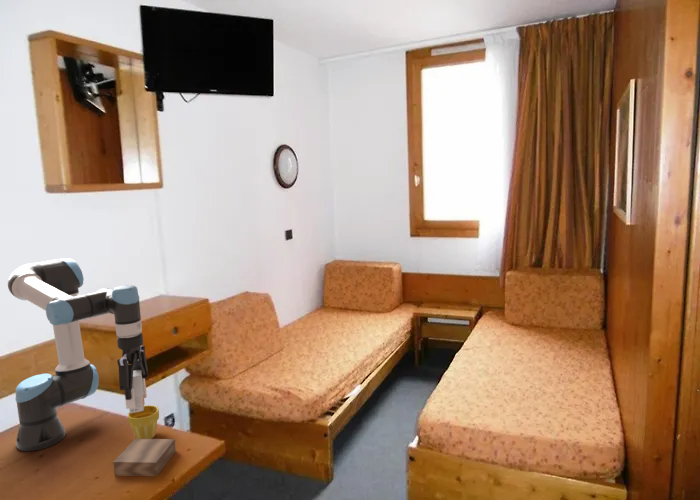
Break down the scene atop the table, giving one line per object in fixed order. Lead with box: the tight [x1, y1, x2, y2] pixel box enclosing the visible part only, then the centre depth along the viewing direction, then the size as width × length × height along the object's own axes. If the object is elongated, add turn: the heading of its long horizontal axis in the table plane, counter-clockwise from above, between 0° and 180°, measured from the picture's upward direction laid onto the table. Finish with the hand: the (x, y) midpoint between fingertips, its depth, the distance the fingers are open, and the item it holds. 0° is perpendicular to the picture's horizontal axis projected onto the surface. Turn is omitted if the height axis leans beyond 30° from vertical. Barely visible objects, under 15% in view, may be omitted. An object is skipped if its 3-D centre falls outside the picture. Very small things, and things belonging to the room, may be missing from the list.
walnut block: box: [112, 438, 177, 477], centre depth 164 cm, size 14×14×5 cm
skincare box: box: [128, 369, 145, 413], centre depth 160 cm, size 6×4×12 cm
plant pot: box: [127, 404, 160, 439], centre depth 181 cm, size 10×10×10 cm
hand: (136, 402), depth 161 cm, fingers closed on skincare box, 7 cm apart
